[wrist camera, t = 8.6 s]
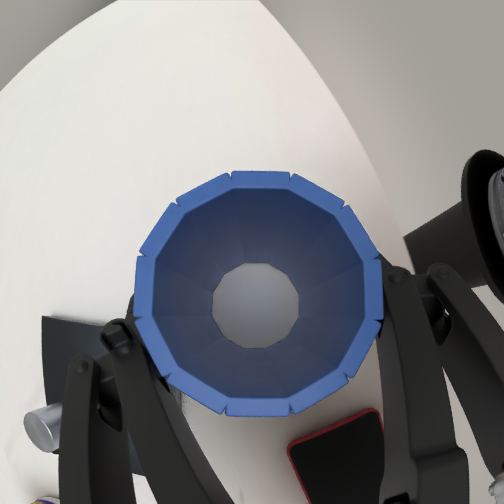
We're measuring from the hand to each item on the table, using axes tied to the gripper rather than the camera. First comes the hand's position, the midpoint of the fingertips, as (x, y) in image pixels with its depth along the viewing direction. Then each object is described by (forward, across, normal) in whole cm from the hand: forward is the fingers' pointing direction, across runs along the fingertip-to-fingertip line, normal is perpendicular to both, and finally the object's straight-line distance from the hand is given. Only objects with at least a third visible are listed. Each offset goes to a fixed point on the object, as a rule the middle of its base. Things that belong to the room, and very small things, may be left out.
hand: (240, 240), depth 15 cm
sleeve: (0, 0, -5) cm, 5 cm away
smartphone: (-12, +4, -18) cm, 22 cm away
